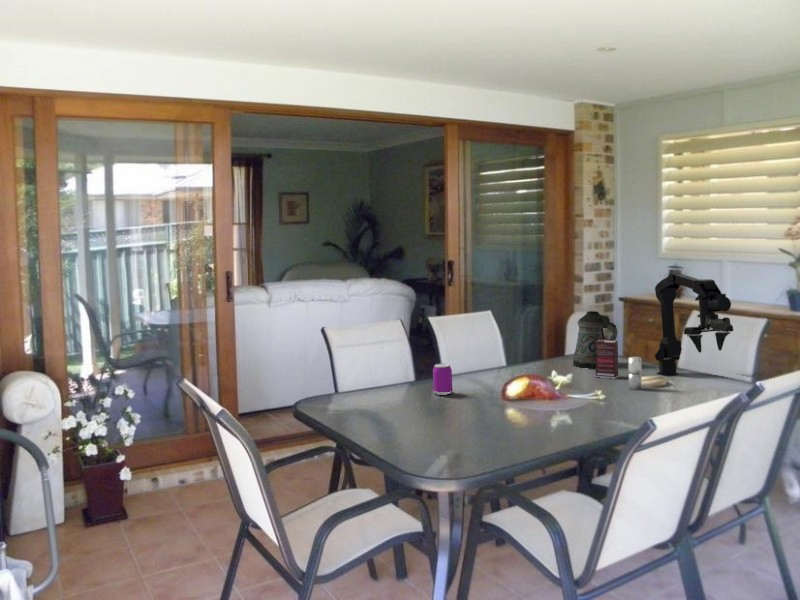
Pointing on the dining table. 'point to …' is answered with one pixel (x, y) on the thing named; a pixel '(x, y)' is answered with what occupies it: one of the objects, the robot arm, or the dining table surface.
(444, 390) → the beverage can
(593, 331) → the beer stein
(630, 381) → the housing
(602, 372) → the supplement box
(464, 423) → the dining table surface
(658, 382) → the birch stand
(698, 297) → the robot arm
